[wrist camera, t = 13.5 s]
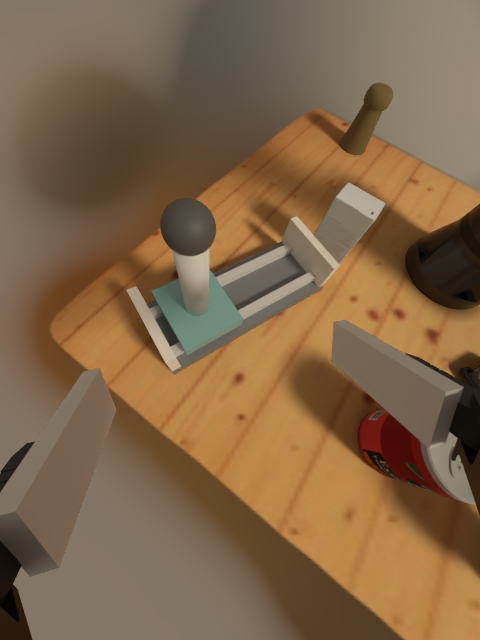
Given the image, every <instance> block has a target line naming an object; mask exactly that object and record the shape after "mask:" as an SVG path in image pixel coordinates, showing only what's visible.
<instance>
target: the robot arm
mask: <svg viewBox="0 0 480 640" xmlns="http://www.w3.org/2000/svg"><path fill="white" fill-rule="evenodd" d="M406 266H407V269H408V272H409V275H410V277H411V278H412V280H413V282H414V283H415V284H416V286H417V287H418V288H419V289H420V290H421V291H422V292H423V293H424V294H425V295H426V296H428V297H429V298H430V299H432V300H433V301H435V302H437V303H439V304H441V305H443V306H446V307H449V308H453V309H469V308H472V307H474V306H477V305H479V304H480V204H479V205H478V206H476V207H475V208H474V209H473V210H471V211H470V212H469V213H467V214H466V215H465V216H464V217H462V218H461V219H459V220H457V221H455V222H453V223H451V224H449V225H446V226H444V227H442V228H440V229H437V230H435V231H433V232H431V233H429V234H426V235H425V236H423V237H421V238H420V239H419V240H418V241H417V242H415V243H414V244H413V245H412V246H411V247H410V248H409V250H408V252H407V255H406ZM332 362H333V363H334V364H335V365H336V366H337V367H339V368H340V369H341V370H342V371H343V372H344V373H345V374H346V375H348V376H349V377H350V378H351V379H352V380H353V381H354V382H355V383H356V384H358V385H359V386H360V387H361V388H362V389H363V390H364V391H365V392H366V393H368V394H369V395H370V396H371V397H372V398H373V399H374V400H375V401H376V402H378V403H379V404H380V405H381V406H382V407H383V408H384V409H385V410H386V411H388V412H389V413H390V414H391V415H392V416H393V417H394V418H395V419H396V420H398V421H399V422H400V423H401V424H402V425H403V426H404V427H405V428H406V429H408V430H409V431H410V432H411V433H412V434H413V435H414V436H415V437H416V438H418V439H419V440H420V441H421V442H422V443H423V444H424V445H425V446H426V447H428V448H429V449H431V448H434V447H437V446H440V445H443V444H446V440H447V437H448V434H449V432H450V433H452V434H453V435H454V436H455V437H457V441H456V444H455V447H454V450H453V453H452V456H451V460H452V461H455V460H456V458H457V456H458V455H459V456H460V459H461V463H462V465H463V468H464V471H465V474H466V477H467V480H468V482H469V485H470V488H471V491H472V494H473V497H474V500H475V503H476V506H477V509H478V512H479V515H480V388H479V389H475V388H473V387H471V386H470V385H468V384H466V383H464V382H462V381H460V380H459V379H457V378H455V377H453V376H451V375H450V374H448V373H446V372H444V371H442V370H439V368H437V367H435V366H433V365H430V363H428V362H426V361H424V360H422V359H421V358H419V357H416V356H413V355H410V354H407V353H405V354H404V353H403V352H401V351H399V350H397V349H396V348H394V347H392V346H390V345H389V344H387V343H385V342H383V341H382V340H380V339H378V338H376V337H375V336H373V335H371V334H369V333H367V332H366V331H364V330H362V329H360V328H359V327H357V326H355V325H353V324H352V323H350V322H348V321H346V320H341V321H336V322H334V325H333V343H332ZM115 412H116V408H115V406H114V403H113V400H112V398H111V396H110V393H109V390H108V388H107V385H106V383H105V380H104V378H103V375H102V372H101V370H100V368H99V369H94V370H89V371H84V372H83V373H82V375H81V376H80V378H79V379H78V380H77V382H76V383H75V385H74V386H73V388H72V389H71V390H70V392H69V393H68V395H67V396H66V398H65V399H64V401H63V402H62V404H61V405H60V407H59V408H58V409H57V411H56V412H55V414H54V415H53V417H52V418H51V420H50V421H49V423H48V424H47V425H46V427H45V428H44V430H43V431H42V433H41V434H40V435H39V437H38V438H37V440H36V441H35V442H31V443H27V444H26V445H24V446H23V447H22V448H21V449H20V450H19V451H18V452H17V453H15V454H14V455H13V456H12V457H11V459H10V460H9V461H8V462H7V464H6V465H5V466H4V468H3V469H2V470H1V474H0V640H32V637H31V634H30V630H29V627H28V623H27V620H26V616H25V613H24V610H23V606H22V603H21V600H20V596H19V593H18V589H17V588H16V587H15V586H14V585H13V582H14V580H15V578H16V576H17V574H18V572H19V570H20V567H22V568H23V569H24V570H25V571H26V572H27V573H28V575H29V576H34V575H37V574H40V573H43V572H46V571H49V570H53V569H56V568H59V566H60V564H61V561H62V558H63V555H64V553H65V550H66V547H67V544H68V542H69V539H70V536H71V533H72V530H73V528H74V525H75V522H76V520H77V517H78V514H79V511H80V509H81V506H82V503H83V500H84V498H85V495H86V492H87V489H88V487H89V484H90V481H91V478H92V476H93V473H94V470H95V467H96V465H97V462H98V459H99V456H100V454H101V451H102V448H103V445H104V443H105V440H106V437H107V434H108V432H109V429H110V426H111V423H112V421H113V417H114V415H115Z"/></svg>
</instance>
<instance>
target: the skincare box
mask: <svg viewBox="0 0 480 640" xmlns="http://www.w3.org/2000/svg"><path fill="white" fill-rule="evenodd" d="M385 204H386V203H385V202H383V201H381V200H379V199H377V198H375V197H374V196H372V195H370V194H368V193H367V192H365V191H363V190H362V189H360V188H358V187H356V186H354V185H353V184H351V183H349V182H348V183H347V184H346V185H345V186H344V187H343V188H342V189H341V191H340V192H339V193H338V194H337V195H336V196H335V198H334V200H333V201H332V203H331V205H330V207H329V209H328V211H327V213H326V214H325V216H324V218H323V220H322V222H321V223H320V225H319V227H318V229H317V231H316V232H315V234H314V236H315V237H316V239H317V240H318V241H319V242H320V243H321V244H322V245H323V247H324V248H325V249H326V250H327V251H328V252H329V253H330V255H331V256H332V257H333V258H334V259H335V260H336V261H337V263H338V264H340V263H341V261H342V260H343V259H344V258H345V257H346V255H347V254H348V253H349V252H350V250H351V249H352V248H353V247H354V246H355V244H356V243H357V242H358V241H359V240H360V238H361V237H362V236H363V235H364V233H365V232H366V231H367V230H368V228H369V227H370V226H371V225H372V224H373V223H374V222H375V220H376V218H377V217H378V215H379V214H380V212H381V211H382V209H383V207H384V206H385Z"/></svg>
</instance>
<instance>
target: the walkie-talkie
mask: <svg viewBox="0 0 480 640" xmlns="http://www.w3.org/2000/svg"><path fill="white" fill-rule="evenodd" d="M466 371H467V372H468V373H467V372H466ZM460 373H461V375H462V377H463V382H465V383H466V384H468V385H470V386H471V387H473V388H475V389H479V388H480V366H479V367H477V368H475V369H473V370H472V369H470V368H469V367H465V368H461V369H460Z"/></svg>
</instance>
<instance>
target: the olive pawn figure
mask: <svg viewBox="0 0 480 640" xmlns="http://www.w3.org/2000/svg"><path fill="white" fill-rule="evenodd" d="M392 98H393V91H392V89H391V88H390V87H389V86H388V85H386V84H383V83H375V84H373V85H372V86H371V87H370V88H369V89H368V91H367V93H366V95H365V98H364V105H363V106H362V108H361V110H360V111H359V113H358V114H357V116H356V118H355V119H354V121H353V123H352V124H351V126H350V127H349V129H348V131H347V132H346V134H345V136H344V137H343V139H342V140H341V142H340V145H341V147H342V148H343V150H345V151H346V152H347V153H350V154H353V155H361V154H363V153H364V151H365V149H366V147H367V144H368V142H369V140H370V138H371V135H372V133H373V131H374V129H375V126H376V124H377V122H378V120H379V117H380V115H381V113H382V111H384V110H385V109H386V108H387V107H388V106H389V104H390V103H391V101H392Z"/></svg>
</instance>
